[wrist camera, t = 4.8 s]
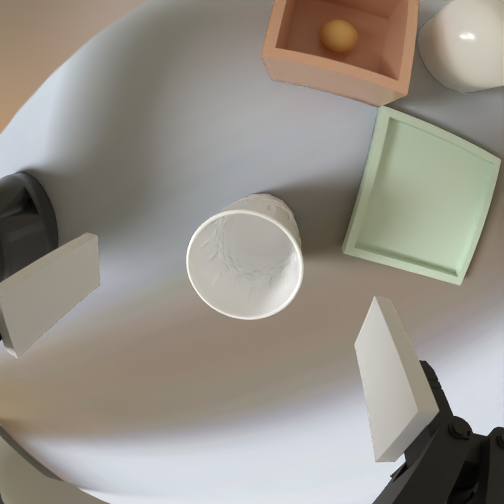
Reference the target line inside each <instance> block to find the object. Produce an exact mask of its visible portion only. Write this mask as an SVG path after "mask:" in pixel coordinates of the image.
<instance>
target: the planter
mask: <svg viewBox="0 0 504 504" xmlns="http://www.w3.org/2000/svg"><path fill="white" fill-rule="evenodd" d="M418 9H419V0H274V4H273V8H272V12H271V16H270V20H269V24H268V28H267V32H266V36H265V40H264V45H263V49H262V53H261V58H262V60H263V62H264V64H265V66H266V68H267V70H268V73H269V75H270V77H271V79H272V80H276V81H281V82H286V83H291V84H296V85H300V86H305V87H309V88H313V89H317V90H321V91H325V92H329V93H333V94H336V95H340V96H343V97H347V98H350V99H354V100H357V101H360V102H363V103H367V104H370V105H373V106H376V107H381V106H383V105H385V104H388V103H390V102H393V101H395V100H397V99H400V98H402V97H405V96H407V95H408V89H409V83H410V77H411V71H412V64H413V57H414V49H415V41H416V32H417V21H418ZM333 19H341V20H344V21H347V22H349V23H350V24H351V25H352V26H353V27H354V28H355V30H356V31H357V35H358V41H357V44H356V46H355V47H354V48H353V49H352V50H350V51H348V52H345V53H337V52H333V51H331V50H329V49H328V48H327V47H326V46H325V45H324V44H323V43H322V41H321V38H320V31H321V28H322V26H323V25H324V24H325V23H326V22H328V21H330V20H333Z"/></svg>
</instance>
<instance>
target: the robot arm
mask: <svg viewBox="0 0 504 504" xmlns="http://www.w3.org/2000/svg"><path fill="white" fill-rule="evenodd" d="M57 243H58V235H57V226H56V220H55V216H54V212H53V209H52V206H51V203H50V201H49V198H48V196H47V194H46V193H45V191H44V189H43V188H42V186H41V185H40V184H39V183H38V181H37V180H36V179H34V178H33V177H32V176H30V175H28V174H26V173H15V174H11V175H7V176H5V177H3V178H1V179H0V341H1V340H2V341H3V343H4V346H5V349H6V351H7V352H9V353H10V354H12V355H13V356H15V357H16V358H19V357H20V356H21V355H22V354H23V353H24V352H25V351H26V350H27V349H28V348H29V347H30V346H31V345H33V344H34V343H35V342H36V341H37V340H38V339H39V338H40V337H41V336H42V335H43V334H44V333H46V332H47V331H48V330H49V329H50V328H51V327H52V326H53V325H54V324H55V323H57V322H58V321H59V320H60V319H61V318H62V317H63V316H65V315H66V314H67V313H68V312H69V311H70V310H71V309H73V308H74V307H75V306H76V305H77V304H78V303H79V302H81V301H82V300H83V299H84V298H85V297H86V296H88V295H89V294H90V293H91V292H92V291H94V290H95V289H96V288H97V287H98V286H100V272H99V250H98V235H94V234H90V233H85V234H83V235H81V236H79V237H77V238H75V239H74V240H72V241H70V242H68V243H66V244H64V245H63V246H61V247H59V248H57ZM355 349H356V354H357V359H358V363H359V368H360V373H361V378H362V383H363V389H364V394H365V399H366V405H367V411H368V417H369V423H370V429H371V435H372V442H373V449H374V456H375V462H395V461H396V460H397V459H398V458H399V457H400V456H401V455H402V454H403V453H404V454H405V459H406V462H405V463H404V464H403V465H402V466H400V467H399V468H398V469H397V470H396V471H395V472H394V473H393V474H392V475H391V476H390V477H392V479H391V481H390V482H389V483H388V485H387V486H386V487H385V489H384V490H383V491H382V492H381V494H380V495H379V496H378V497H377V499H376V500H375V501H374V502H373V504H504V428H503V427H496V428H494V429H493V430H492V431H491V432H490V434H489V435H488V436H484V435H479V434H475V433H473V432H472V428H471V427H470V425H469V424H468V423H467V422H466V421H465V420H464V419H462V418H460V417H457V416H453V413H452V411H451V408H450V406H449V403H448V401H447V399H446V396H445V394H444V392H443V389H441V388H442V387H441V385H440V382H438V378H437V376H436V374H435V371H434V370H433V368H432V367H431V366H430V365H429V364H428V363H427V362H426V361H421V360H419V359H418V357H417V355H416V353H415V350H414V348H413V346H412V344H411V342H410V339H409V337H408V335H407V333H406V331H405V329H404V327H403V325H402V323H401V320H400V318H399V316H398V314H397V312H396V310H395V308H394V306H393V304H392V302H391V300H390V298H385V297H379V296H374V298H373V301H372V303H371V306H370V309H369V311H368V314H367V316H366V319H365V321H364V323H363V326H362V328H361V331H360V333H359V335H358V338H357V340H356V342H355ZM0 504H4V503H3V501H2V498H1V495H0Z"/></svg>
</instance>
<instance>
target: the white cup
mask: <svg viewBox="0 0 504 504" xmlns="http://www.w3.org/2000/svg"><path fill="white" fill-rule="evenodd" d="M186 263H187V271H188V275H189V278H190V281H191V283H192V285H193V287H194V289H195V290H196V292H197V293H198V295H199V296H200V297H201V298H202V299H203V300H204V301H205V302H206V303H207V304H208V305H209V306H211V307H212V308H213V309H215V310H217V311H218V312H220V313H222V314H225V315H227V316H230V317H234V318H238V319H260V318H265V317H268V316H271V315H273V314H275V313H277V312H279V311H281V310H282V309H283V308H285V307H286V306H287V305H288V304H289V303H290V302H291V301H292V300H293V299H294V297H295V296H296V294H297V293H298V291H299V289H300V286H301V283H302V279H303V273H304V263H303V256H302V248H301V240H300V235H299V231H298V226H297V224H296V222H295V218H294V214H293V212H292V211H291V210H290V208H289V207H288V206H287V205H286V204H285V202H284V201H283V200H281V199H279V198H276V197H274V196H272V195H270V194H251V195H249V196H247V197H245V198H242V199H239V200H237V201H236V202H234V203H232V204H230V205H228V206H227V207H225V208H224V209H222V210H221V211H219V212H218V213H217V214H215V215H214V216H212V217H211V218H209V219H208V220H206V221H205V222H204V223H203V224H202V225H201V226H200V227H199V228H198V229H197V230H196V232H195V233H194V235H193V237H192V238H191V241H190V243H189V246H188V250H187V258H186Z"/></svg>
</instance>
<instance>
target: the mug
mask: <svg viewBox="0 0 504 504" xmlns="http://www.w3.org/2000/svg"><path fill="white" fill-rule="evenodd" d="M418 48H419V52H420V55H421V58H422V60H423V62H424V64H425V66H426V68H427V69H428V70H429V72H430V73H431V74H432V76H433V77H434V78H435V79H436V80H437V81H438V82H440V83H441V84H442V85H444V86H445V87H447V88H448V89H450V90H452V91H455V92H459V93H470V92H475V91H480V90H484V89H489V88H494V87H500V86H504V1H503V0H452V1H451V2H450V3H448V4H447V5H446V6H445V7H444V8H443V9H441V10H440V11H439V12H438V13H437V14H436V15H434V16H433V17H432V18H431V19H430V20H429V21H428V22H426V23H425V24H424V25H423V26H422V28H421V30H420V32H419V36H418Z"/></svg>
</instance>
